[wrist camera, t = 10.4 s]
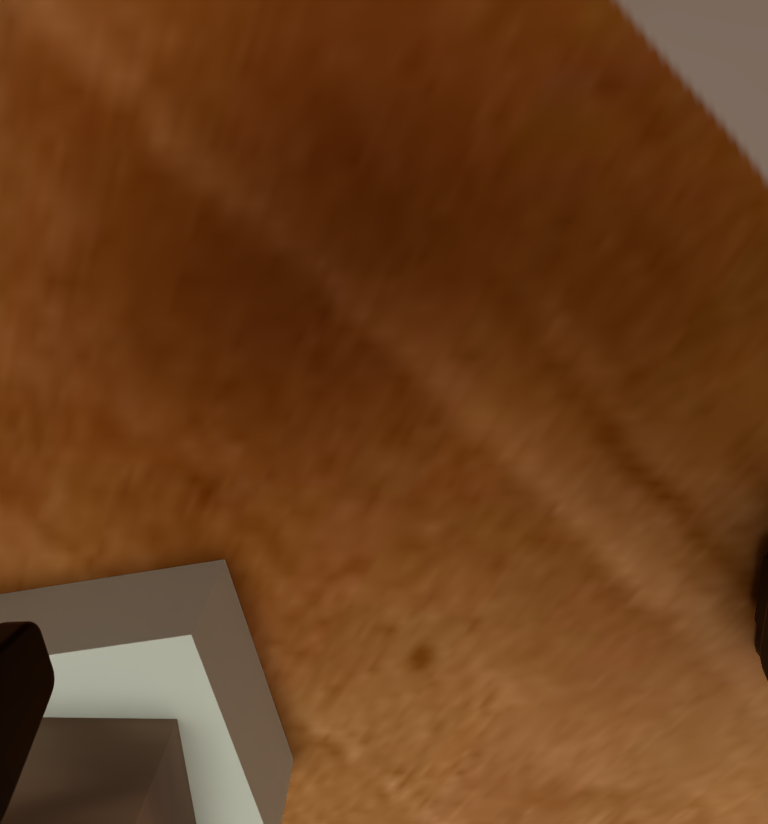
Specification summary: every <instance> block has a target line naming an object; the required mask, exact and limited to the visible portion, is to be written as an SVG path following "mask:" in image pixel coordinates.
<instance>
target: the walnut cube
mask: <svg viewBox="0 0 768 824" xmlns="http://www.w3.org/2000/svg"><path fill="white" fill-rule="evenodd" d="M1 824H196V819H195V813H194V808H193V802H192V797H191V792H190V786H189V781H188V775H187V770H186V765H185V759H184V754H183V748H182V743H181V737H180V732H179V727H178V721H177V719H139V718H57V717H43V718H42V721H41V724H40V726H39V729H38V732H37V734H36V737H35V739H34V742H33V745H32V747H31V750H30V753H29V755H28V758H27V760H26V763H25V766H24V768H23V771H22V774H21V776H20V779H19V782H18V784H17V787H16V789H15V792H14V794H13V797H12V799H11V801H10V804H9V806H8V809H7V811H6V813H5V815H4V817H3V820H2V822H1Z"/></svg>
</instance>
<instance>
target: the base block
mask: <svg viewBox="0 0 768 824" xmlns="http://www.w3.org/2000/svg"><path fill="white" fill-rule="evenodd" d="M19 621H31V622H34V623H36V624H37V625H38V626H39V628H40V630H41V632H42V635H43V638H44V642H45V645H46V648H47V651H48V654H49V657H50V660H51V663H52V666H53V670H54V677H55V680H54V688H53V692H52V695H51V697H50V700H49V703H48V705H47V708H46V710H45V713H44V716H43V717H57V718H139V719H177V721H178V727H179V732H180V737H181V743H182V748H183V754H184V759H185V765H186V770H187V775H188V781H189V786H190V792H191V797H192V802H193V808H194V813H195V819H196V824H281V823H282V818H283V813H284V808H285V803H286V798H287V792H288V787H289V782H290V777H291V772H292V767H293V761H294V760H293V757H292V754H291V751H290V748H289V745H288V742H287V739H286V736H285V733H284V730H283V727H282V725H281V722H280V719H279V716H278V713H277V710H276V707H275V704H274V701H273V698H272V695H271V692H270V690H269V687H268V684H267V681H266V678H265V675H264V672H263V669H262V666H261V663H260V660H259V657H258V654H257V652H256V649H255V646H254V643H253V640H252V637H251V634H250V631H249V628H248V625H247V622H246V619H245V617H244V614H243V611H242V608H241V605H240V602H239V599H238V596H237V593H236V590H235V587H234V584H233V582H232V579H231V576H230V573H229V570H228V567H227V564H226V561H225V559H223V560H217V561H210V562H204V563H197V564H191V565H184V566H178V567H172V568H165V569H159V570H152V571H146V572H140V573H133V574H127V575H120V576H114V577H108V578H101V579H95V580H88V581H82V582H76V583H69V584H63V585H56V586H50V587H43V588H37V589H31V590H24V591H18V592H11V593H5V594H0V623H3V622H19Z"/></svg>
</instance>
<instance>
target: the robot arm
mask: <svg viewBox="0 0 768 824" xmlns="http://www.w3.org/2000/svg"><path fill="white" fill-rule="evenodd" d="M755 621H756V623H757V624H758V632H757V638H756V645H755V648H756V652H757V653H758V655H759V656H760V659H761V664H762V668H763V671H764V673H765V676H766V678H767V680H768V552H767V553H766V555H765V556H764V560H763V566H762V573H761V580H760V586H759V593H758V600H757V607H756V613H755ZM54 680H55V677H54V670H53V666H52V663H51V660H50V657H49V654H48V651H47V648H46V645H45V642H44V638H43V635H42V632H41V630H40V628H39V626H38V625H37V624H36V623H34V622H31V621H19V622H3V623H0V824H1V822H2V820H3V817H4V815H5V813H6V811H7V809H8V806H9V804H10V801H11V799H12V797H13V794H14V792H15V789H16V787H17V784H18V782H19V779H20V776H21V774H22V771H23V768H24V766H25V763H26V760H27V758H28V755H29V753H30V750H31V747H32V745H33V742H34V739H35V737H36V734H37V732H38V729H39V726H40V724H41V721H42V718H43V716H44V713H45V710H46V708H47V705H48V703H49V700H50V697H51V695H52V692H53V688H54Z"/></svg>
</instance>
